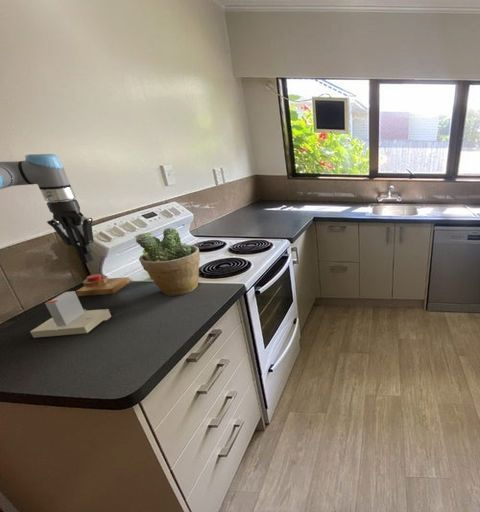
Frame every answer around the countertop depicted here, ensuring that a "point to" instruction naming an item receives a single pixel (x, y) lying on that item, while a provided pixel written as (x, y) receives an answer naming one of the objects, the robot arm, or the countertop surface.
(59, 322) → the white rectangular box
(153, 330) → the countertop surface
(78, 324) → the plate
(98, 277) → the button
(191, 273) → the potted plant
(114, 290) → the button block
